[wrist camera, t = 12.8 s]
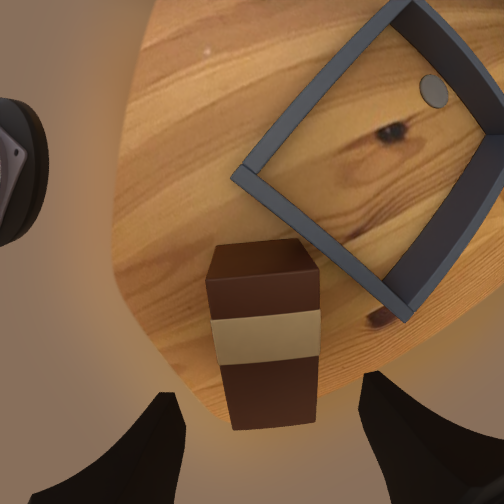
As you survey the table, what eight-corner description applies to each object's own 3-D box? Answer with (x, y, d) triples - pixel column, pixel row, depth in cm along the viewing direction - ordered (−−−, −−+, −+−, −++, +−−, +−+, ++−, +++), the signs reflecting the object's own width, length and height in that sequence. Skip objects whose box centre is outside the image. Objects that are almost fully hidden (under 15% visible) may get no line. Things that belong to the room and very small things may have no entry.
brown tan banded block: (233, 375, 19) (231, 431, 14) (214, 244, 17) (203, 280, 12) (302, 368, 19) (316, 423, 14) (299, 237, 17) (321, 268, 12)
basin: (232, 175, 16) (229, 178, 12) (382, 7, 13) (407, -16, 9) (380, 297, 18) (405, 324, 14) (495, 135, 15) (528, 136, 11)
